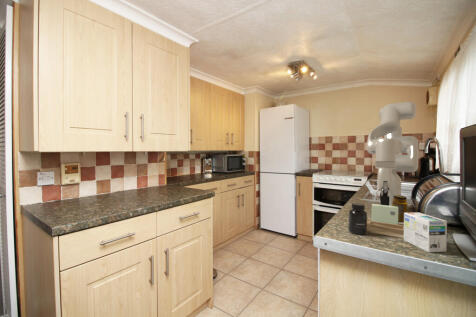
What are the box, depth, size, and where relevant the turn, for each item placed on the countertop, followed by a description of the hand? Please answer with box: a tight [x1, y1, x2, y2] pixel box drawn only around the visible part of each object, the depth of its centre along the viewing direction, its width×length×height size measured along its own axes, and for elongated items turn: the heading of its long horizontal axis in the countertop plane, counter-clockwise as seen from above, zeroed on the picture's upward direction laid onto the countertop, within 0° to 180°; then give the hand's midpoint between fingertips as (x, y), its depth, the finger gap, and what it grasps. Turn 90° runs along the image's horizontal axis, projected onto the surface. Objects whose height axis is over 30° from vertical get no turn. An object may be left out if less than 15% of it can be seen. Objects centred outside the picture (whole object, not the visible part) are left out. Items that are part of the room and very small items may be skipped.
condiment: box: [392, 195, 409, 225], centre depth 107 cm, size 7×8×12 cm
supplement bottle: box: [347, 202, 368, 236], centre depth 92 cm, size 7×7×12 cm
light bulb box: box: [403, 212, 448, 253], centre depth 79 cm, size 11×7×11 cm, turn 5°
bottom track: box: [367, 219, 404, 239], centre depth 92 cm, size 7×14×3 cm, turn 58°
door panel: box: [370, 203, 399, 225], centre depth 101 cm, size 3×10×9 cm, turn 58°
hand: (384, 203), depth 100 cm, fingers open, 9 cm apart
